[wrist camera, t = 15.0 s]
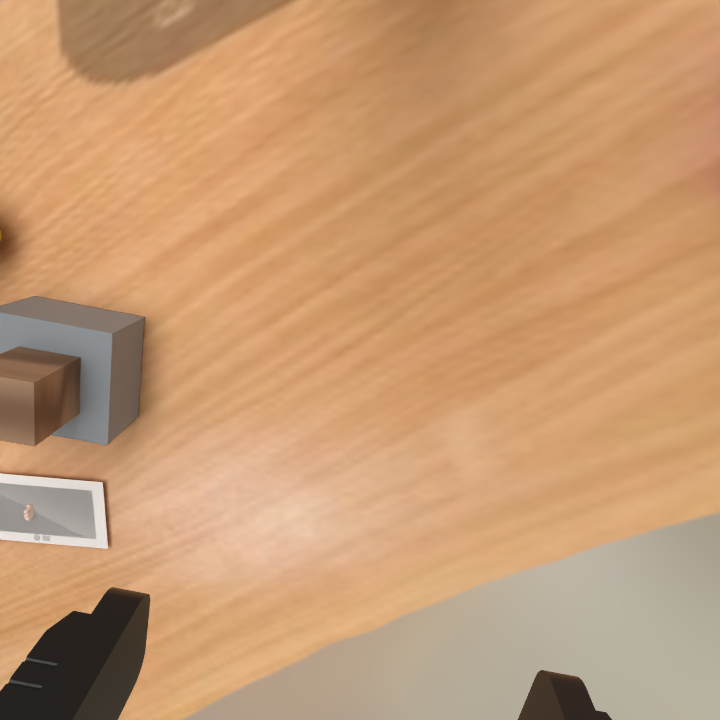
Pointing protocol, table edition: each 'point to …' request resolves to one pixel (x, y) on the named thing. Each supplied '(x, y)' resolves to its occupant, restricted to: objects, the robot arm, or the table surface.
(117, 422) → the base block
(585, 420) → the table surface
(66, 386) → the walnut block
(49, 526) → the touchpad
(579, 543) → the table surface
